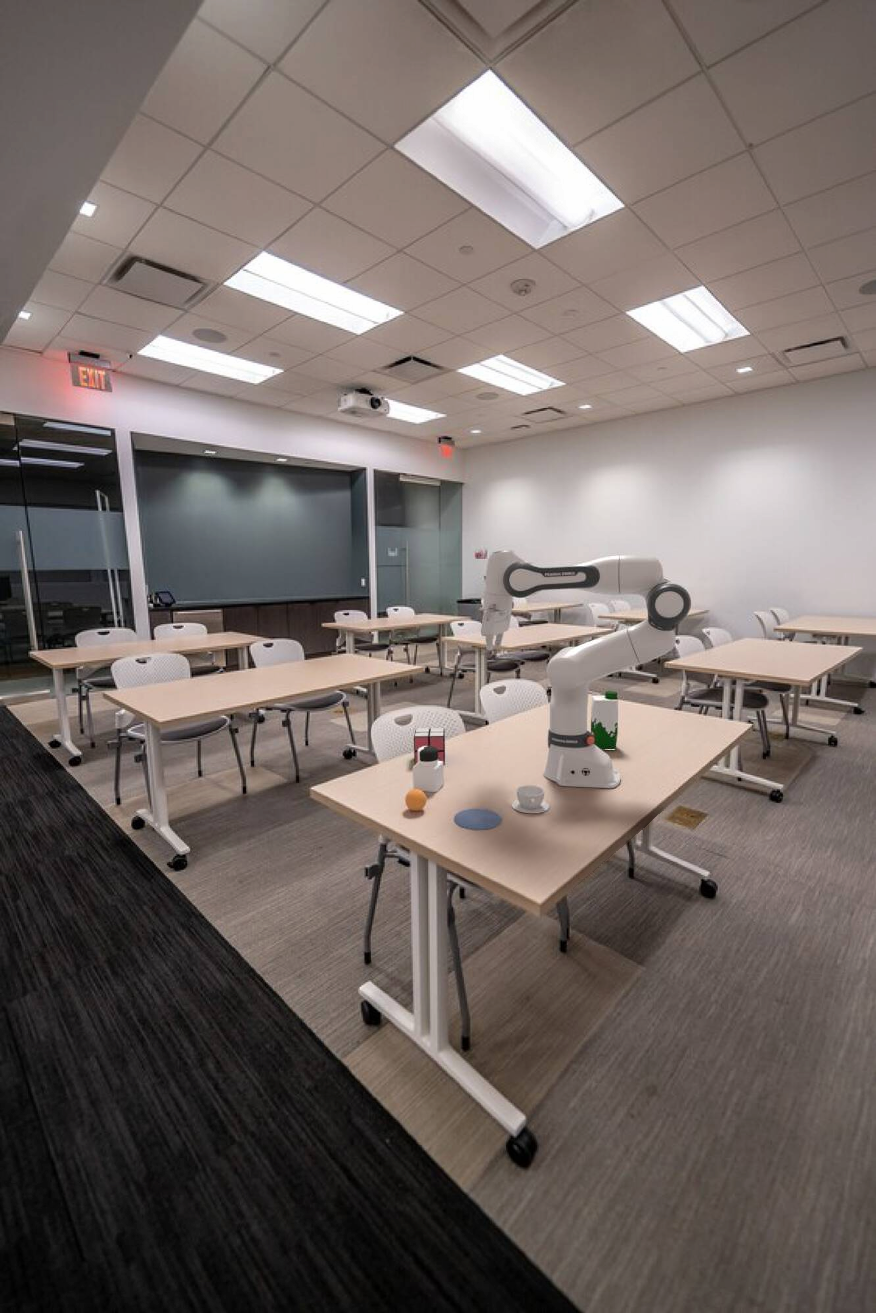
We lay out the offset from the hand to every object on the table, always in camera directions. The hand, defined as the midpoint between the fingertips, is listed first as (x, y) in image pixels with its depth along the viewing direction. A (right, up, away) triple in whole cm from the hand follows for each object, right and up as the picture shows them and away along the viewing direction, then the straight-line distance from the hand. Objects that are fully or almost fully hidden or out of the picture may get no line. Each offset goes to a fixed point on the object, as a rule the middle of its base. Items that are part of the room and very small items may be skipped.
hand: (493, 648), depth 170 cm
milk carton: (+41, -35, +24) cm, 59 cm away
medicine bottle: (-20, -41, -10) cm, 47 cm away
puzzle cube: (-20, -38, +14) cm, 45 cm away
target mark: (-7, -44, -32) cm, 55 cm away
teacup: (+7, -43, -24) cm, 50 cm away
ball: (-23, -41, -26) cm, 53 cm away
